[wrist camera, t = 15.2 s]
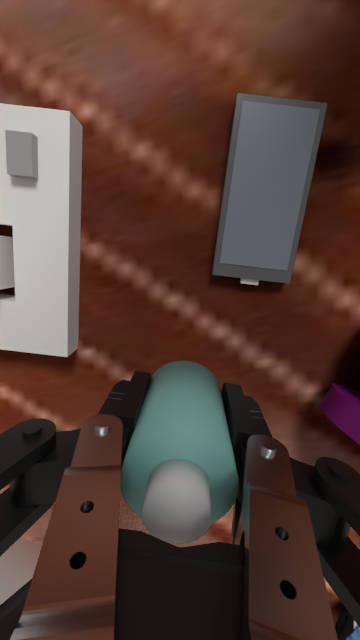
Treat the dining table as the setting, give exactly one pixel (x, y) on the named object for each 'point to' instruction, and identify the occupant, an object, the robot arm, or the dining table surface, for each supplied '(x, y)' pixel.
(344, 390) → the mounting bracket
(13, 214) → the board
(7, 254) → the block
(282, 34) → the dining table surface
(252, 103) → the phone
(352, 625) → the athletic shoe
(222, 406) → the teal rounded cylinder
